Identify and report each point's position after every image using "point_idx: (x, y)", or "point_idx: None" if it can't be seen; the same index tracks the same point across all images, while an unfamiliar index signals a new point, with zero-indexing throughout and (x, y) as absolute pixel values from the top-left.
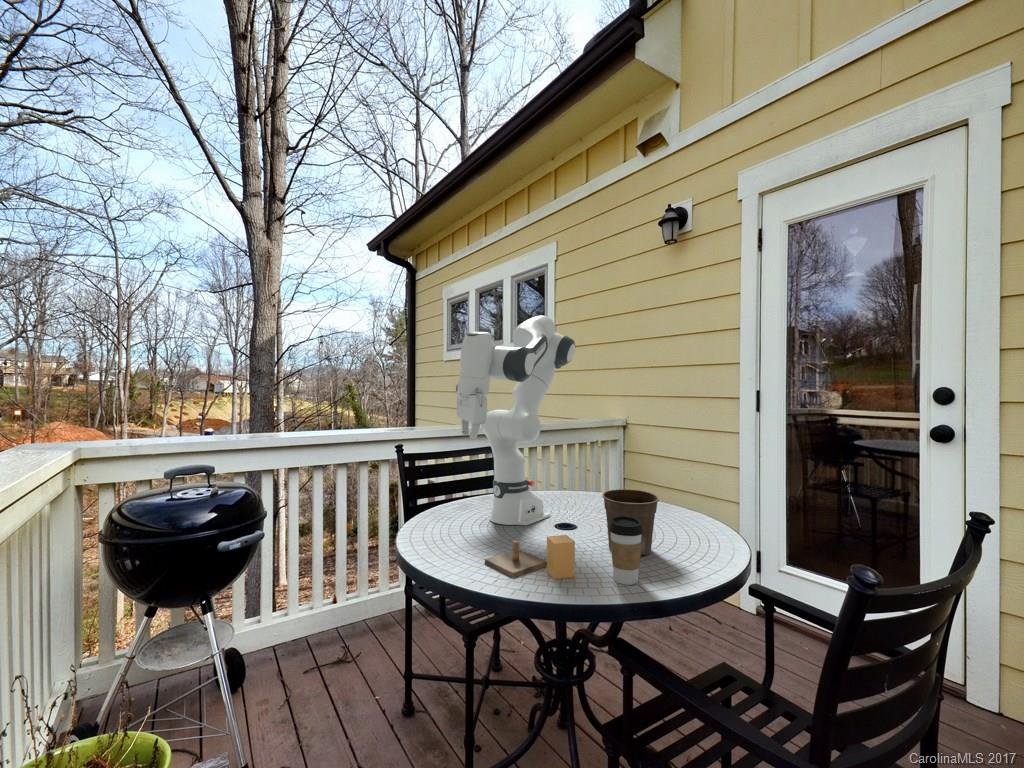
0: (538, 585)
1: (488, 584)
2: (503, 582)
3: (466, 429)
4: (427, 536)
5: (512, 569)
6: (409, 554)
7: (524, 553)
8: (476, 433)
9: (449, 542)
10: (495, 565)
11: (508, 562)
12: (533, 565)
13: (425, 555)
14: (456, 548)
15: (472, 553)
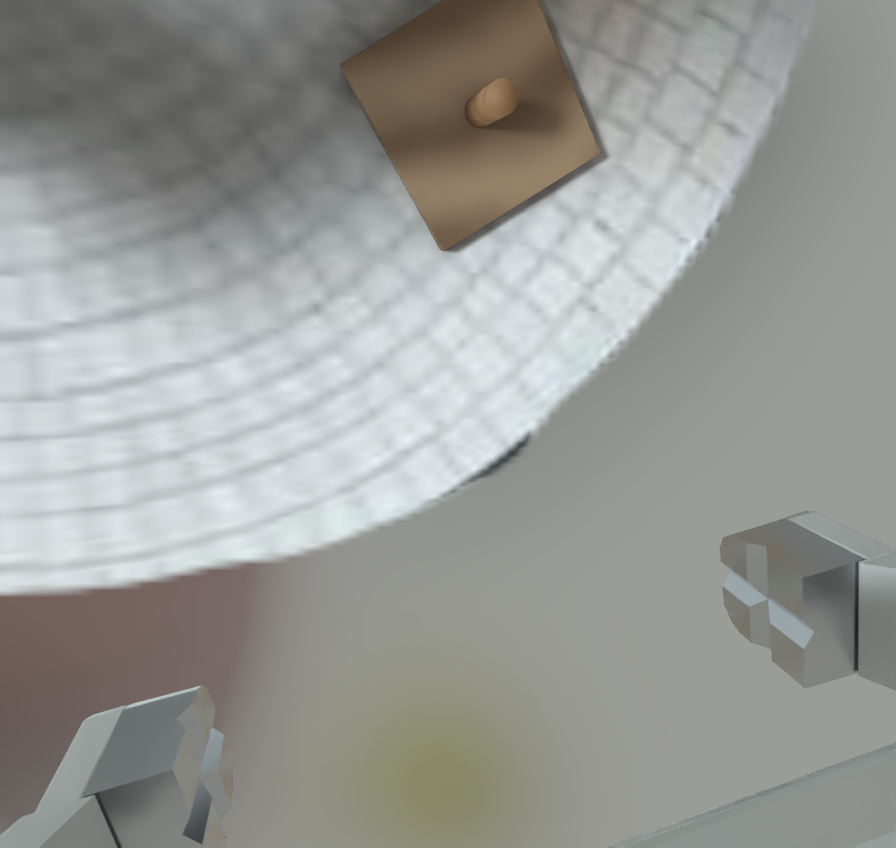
0: (676, 67)
1: (623, 256)
2: (621, 199)
3: (189, 813)
4: (74, 493)
5: (570, 148)
6: (307, 536)
7: (405, 45)
8: (889, 565)
9: (166, 392)
10: (504, 212)
11: (498, 151)
12: (550, 41)
13: (324, 479)
14: (251, 361)
15: (320, 293)
